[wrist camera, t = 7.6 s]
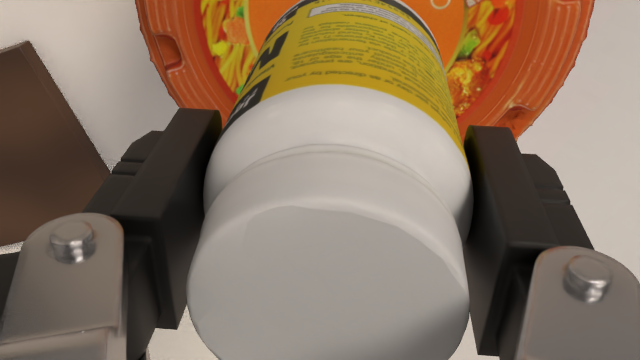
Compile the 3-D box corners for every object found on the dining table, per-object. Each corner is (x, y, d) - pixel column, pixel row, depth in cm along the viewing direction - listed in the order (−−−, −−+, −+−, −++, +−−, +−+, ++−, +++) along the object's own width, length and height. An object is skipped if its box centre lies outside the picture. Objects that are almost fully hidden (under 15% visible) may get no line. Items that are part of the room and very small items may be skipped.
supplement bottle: (271, -36, 13) (160, 134, 6) (465, 3, 14) (563, 211, 7) (250, 137, 16) (155, 391, 9) (413, 168, 16) (442, 442, 9)
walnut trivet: (-132, 95, 35) (-144, 102, 34) (29, 40, 32) (19, 46, 31) (-13, 243, 41) (-21, 252, 40) (132, 207, 38) (126, 216, 37)
